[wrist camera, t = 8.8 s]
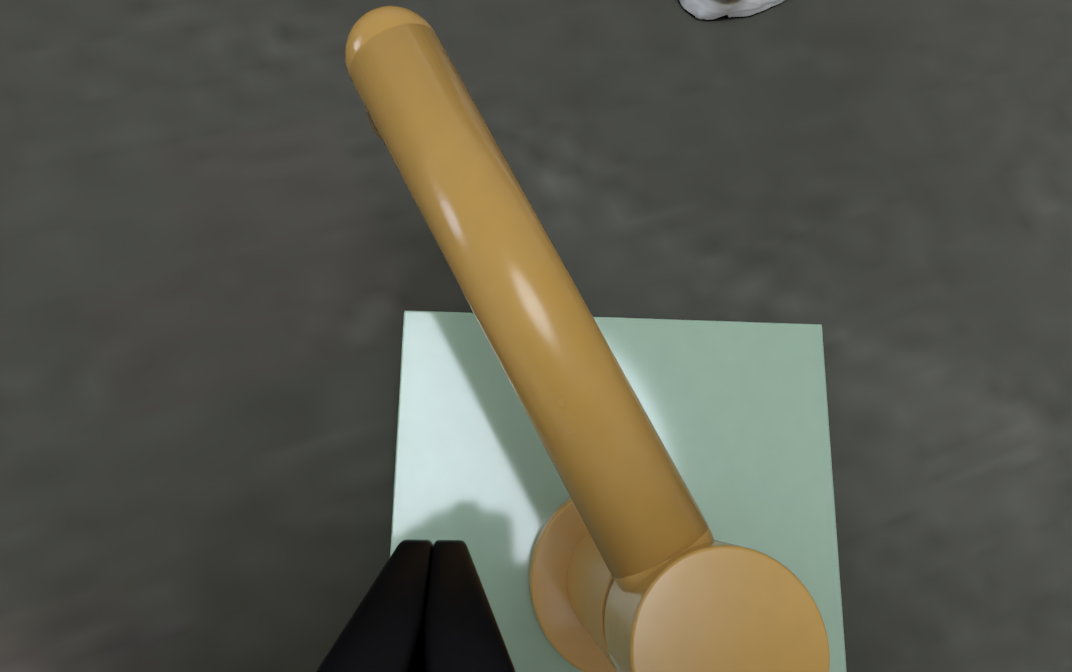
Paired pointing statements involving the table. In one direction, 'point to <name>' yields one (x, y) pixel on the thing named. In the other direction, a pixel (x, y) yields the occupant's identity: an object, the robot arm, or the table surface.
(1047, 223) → the table surface
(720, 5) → the frog figurine
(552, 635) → the tap column
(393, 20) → the spout
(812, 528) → the tap deck
